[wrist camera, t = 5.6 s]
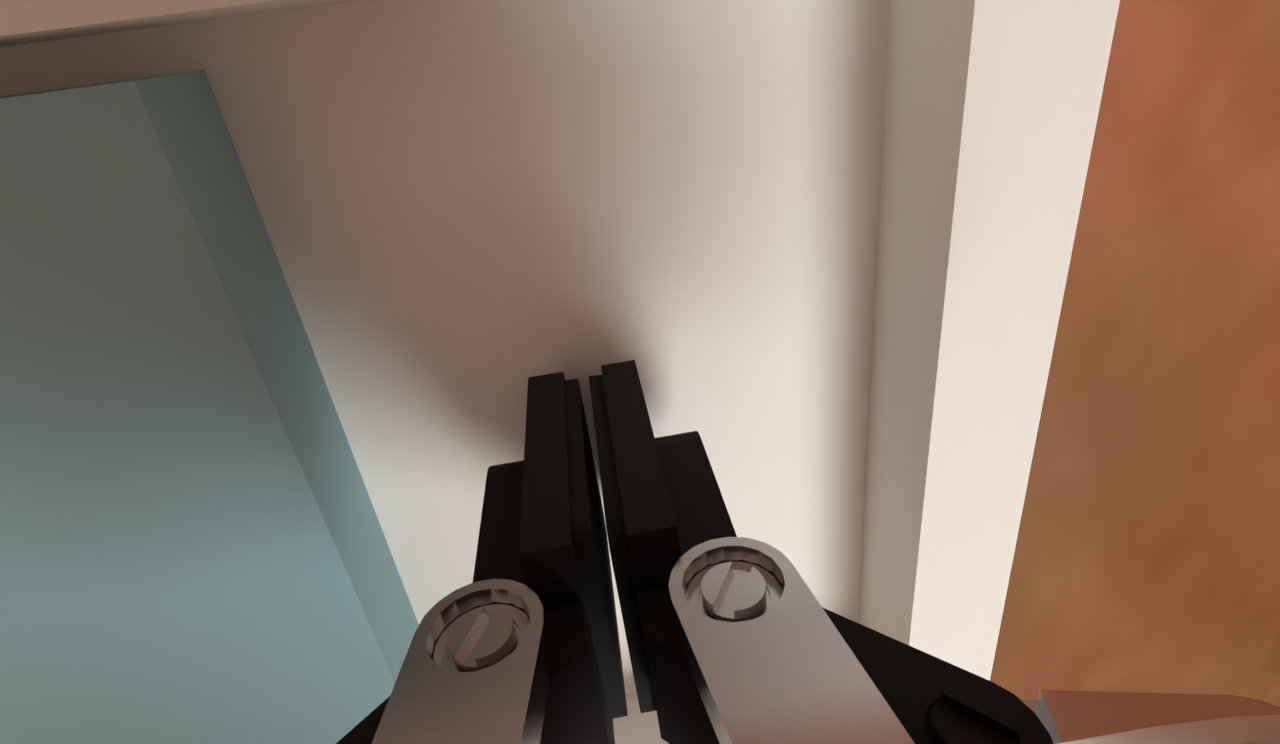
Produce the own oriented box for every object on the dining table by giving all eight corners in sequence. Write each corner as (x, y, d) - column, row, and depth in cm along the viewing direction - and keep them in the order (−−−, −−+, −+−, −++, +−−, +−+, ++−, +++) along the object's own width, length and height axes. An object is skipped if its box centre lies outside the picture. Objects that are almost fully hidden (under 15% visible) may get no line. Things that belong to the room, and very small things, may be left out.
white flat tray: (-903, -2, 7) (-1691, -11, 5) (987, -227, 9) (1184, -334, 6) (-39, 824, 15) (-162, 995, 13) (902, 650, 16) (972, 774, 14)
